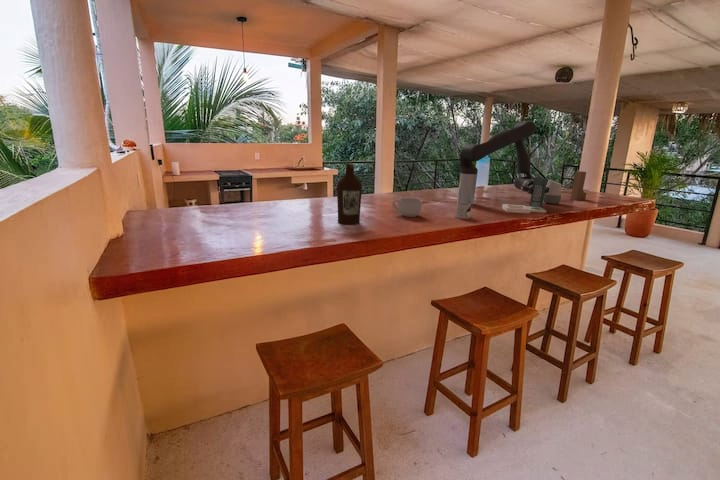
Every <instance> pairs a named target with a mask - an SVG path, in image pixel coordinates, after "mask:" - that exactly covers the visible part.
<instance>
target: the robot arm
mask: <svg viewBox="0 0 720 480" xmlns="http://www.w3.org/2000/svg"><path fill="white" fill-rule="evenodd" d="M536 131H537V126H536V123H534V122H533V121H532V120H525V121H519V122H516V123H515V124H514V125H513V128H510V129H505V130H502V131H498V132H496V133H494V134H492V135H491V136H489V138H488V140H487V141H484V142H481V143H479V144H478V143H477V144H475V143H467V144H464V145H463V146H462V148H461V149H460V156H459V157H460V158H459V169H460V176H459V184H458V190H457V199H456V204H457V203H469V204H471V206H473V205H474V204H475V199H476V197H475V196H476V188H477V180H478V172H479V170H478V168H477V167H476V166H475V165H474V162H479V161H480V160H482V159H484V158H485V157H487V156H489V155H490V154H493V153H495V152H497V151H499V150H502V149H504V148H506V147H508V146H511V145H512V144H514V147H515V151H516V165H517V166H516V167H517V168H516V170H517V173H518V174H524V175H525V176H519V177H516V178H515V180H514V181H513V185H514V186H513V187H515V189H518V190H521V191H523V192H526V193H527V194H528V195H531V194H532V193H533V182H534V178H533V177H532V174H531V173H532V172H531V164H530V163H531V162H530V161H531V159H530V155H529V153H528V151H527V150H526V148H525V143H524V139H527V138H530V137H532V136H533V135H534V134H535V132H536ZM549 189H550V188H549V187H547V185H546V189H545V193H549Z"/></svg>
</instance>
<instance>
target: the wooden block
mask: <svg viewBox="0 0 720 480" xmlns="http://www.w3.org/2000/svg"><path fill="white" fill-rule="evenodd" d="M586 176H587V172H586V171H580V170H576V171H575V174H574V178H573V183H572V190H571V194H570V200H572V201H584V200H586V199H587V194H588V193H587V192H585V191H584V187H585V186H584V185H585V181H586Z"/></svg>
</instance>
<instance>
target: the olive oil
mask: <svg viewBox="0 0 720 480" xmlns="http://www.w3.org/2000/svg"><path fill="white" fill-rule="evenodd" d="M345 166H346V167H345V173H344V174H343V175H342V176H341V178H340V179H338V182H337V184H336V196H337V198H336V199H337V222H338V224H339V225H340V224H341V225H346V226H348V225H349V226H352V225H358V224H360V219H361V204H362V203H361V202H362V191H363V185H362V182H361V180H360V179H359V177H358V176H357V175H356V174H355V167H354V166H355V165H354V163H346V164H345Z"/></svg>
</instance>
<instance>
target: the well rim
mask: <svg viewBox="0 0 720 480" xmlns="http://www.w3.org/2000/svg"><path fill="white" fill-rule="evenodd" d="M526 206H527V205H522V204H507V203H505V204H504V203H503V204H502V206H501V207H502V210H505V212H506V213H514V214H515V213H517V214H518V213H519V214H520V213H521V214H531V213H532V212H531V209H529V208H528V207H526Z"/></svg>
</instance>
